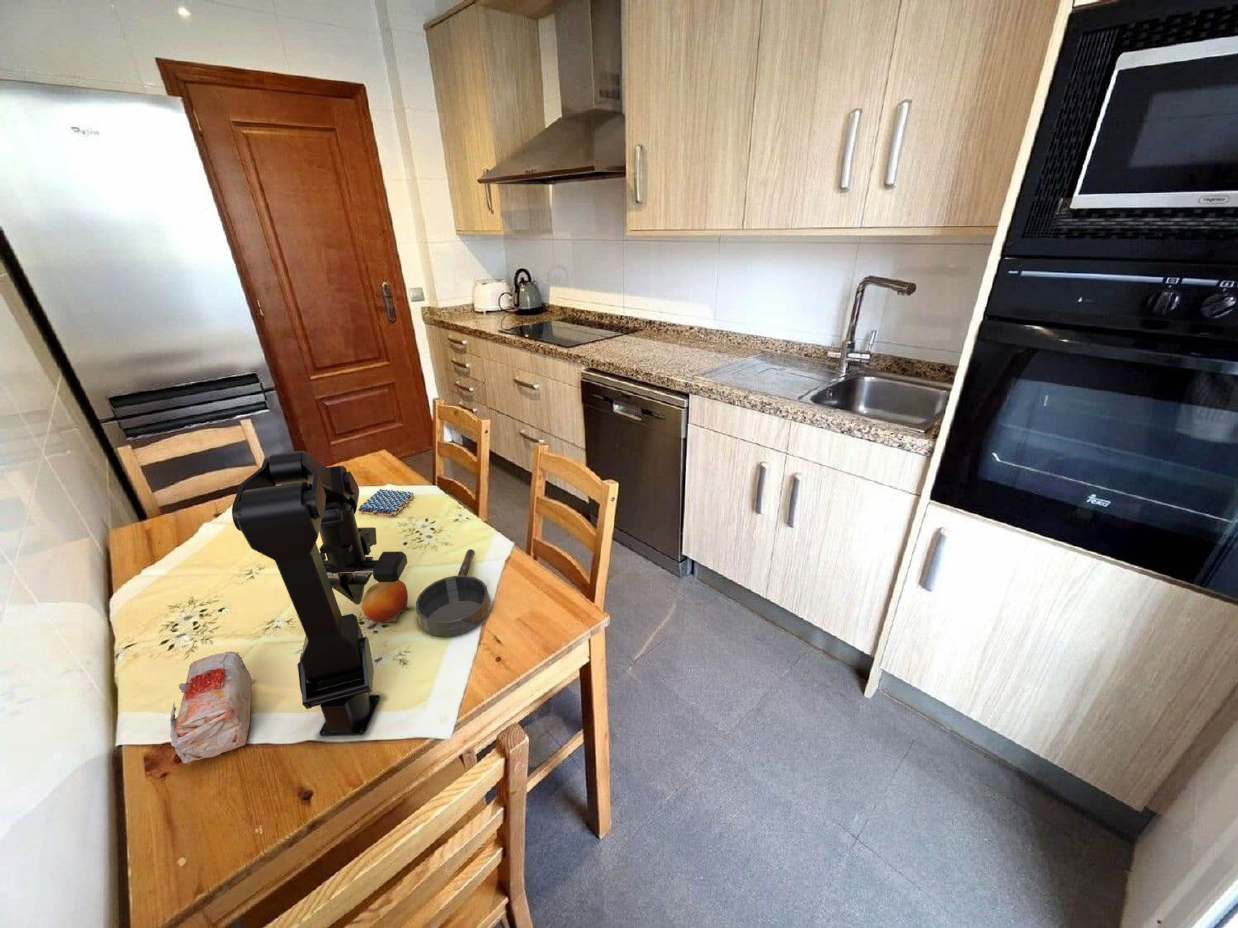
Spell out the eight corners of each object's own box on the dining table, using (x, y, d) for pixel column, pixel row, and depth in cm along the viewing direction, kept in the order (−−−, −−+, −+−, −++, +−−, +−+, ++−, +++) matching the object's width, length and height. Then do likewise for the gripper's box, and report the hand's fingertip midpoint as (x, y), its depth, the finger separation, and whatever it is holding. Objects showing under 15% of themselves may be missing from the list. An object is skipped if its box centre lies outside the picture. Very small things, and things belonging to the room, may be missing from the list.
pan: (482, 636, 90) (480, 621, 89) (409, 638, 90) (405, 623, 88) (495, 588, 102) (493, 574, 100) (430, 589, 101) (427, 576, 100)
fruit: (402, 627, 90) (374, 594, 88) (374, 637, 93) (346, 605, 91) (427, 597, 97) (402, 566, 95) (400, 608, 100) (375, 577, 98)
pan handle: (465, 583, 100) (464, 576, 100) (456, 583, 100) (455, 576, 100) (476, 554, 109) (475, 547, 108) (467, 554, 109) (466, 547, 108)
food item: (255, 748, 71) (231, 700, 67) (184, 777, 67) (154, 729, 63) (257, 679, 81) (237, 634, 77) (196, 701, 78) (171, 655, 73)
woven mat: (416, 497, 134) (415, 490, 133) (395, 518, 125) (393, 511, 124) (380, 493, 136) (379, 487, 135) (356, 514, 126) (355, 507, 125)
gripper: (409, 508, 95) (422, 574, 102) (307, 509, 94) (327, 575, 101) (388, 543, 85) (404, 613, 92) (274, 545, 84) (299, 615, 91)
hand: (359, 602), depth 94 cm, fingers closed
